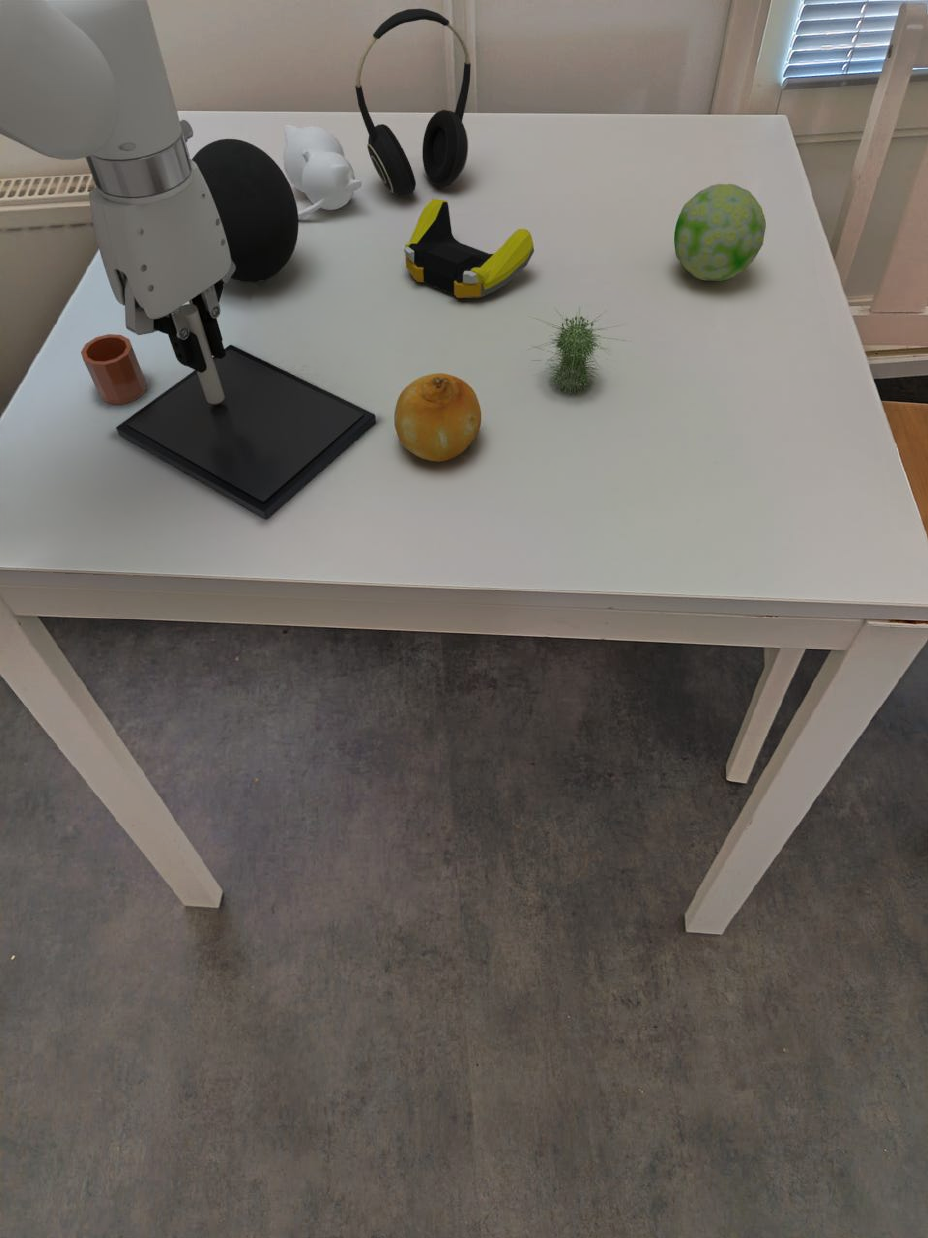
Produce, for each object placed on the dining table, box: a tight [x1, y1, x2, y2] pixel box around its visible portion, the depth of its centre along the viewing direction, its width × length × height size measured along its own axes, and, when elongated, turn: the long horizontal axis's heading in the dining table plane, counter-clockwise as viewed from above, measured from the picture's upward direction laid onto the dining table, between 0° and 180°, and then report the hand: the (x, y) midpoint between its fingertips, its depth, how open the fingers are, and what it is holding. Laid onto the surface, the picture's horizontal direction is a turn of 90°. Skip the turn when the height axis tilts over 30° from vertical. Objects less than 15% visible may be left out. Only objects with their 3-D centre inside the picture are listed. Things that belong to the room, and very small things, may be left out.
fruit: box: [393, 372, 482, 462], centre depth 80 cm, size 8×8×8 cm
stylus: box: [181, 303, 225, 405], centre depth 80 cm, size 2×2×11 cm
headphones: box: [354, 8, 472, 197], centre depth 103 cm, size 9×15×20 cm, turn 115°
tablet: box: [115, 344, 377, 520], centre depth 84 cm, size 16×20×1 cm
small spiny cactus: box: [520, 307, 633, 394], centre depth 84 cm, size 12×12×8 cm
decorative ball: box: [673, 183, 767, 282], centre depth 95 cm, size 10×10×10 cm
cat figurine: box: [282, 124, 363, 221], centre depth 107 cm, size 9×11×12 cm
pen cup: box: [80, 333, 148, 405], centre depth 86 cm, size 5×5×5 cm
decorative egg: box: [191, 138, 299, 283], centre depth 94 cm, size 12×12×15 cm
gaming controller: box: [403, 198, 535, 299], centre depth 97 cm, size 15×6×10 cm
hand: (202, 358), depth 80 cm, fingers closed on stylus, 1 cm apart
